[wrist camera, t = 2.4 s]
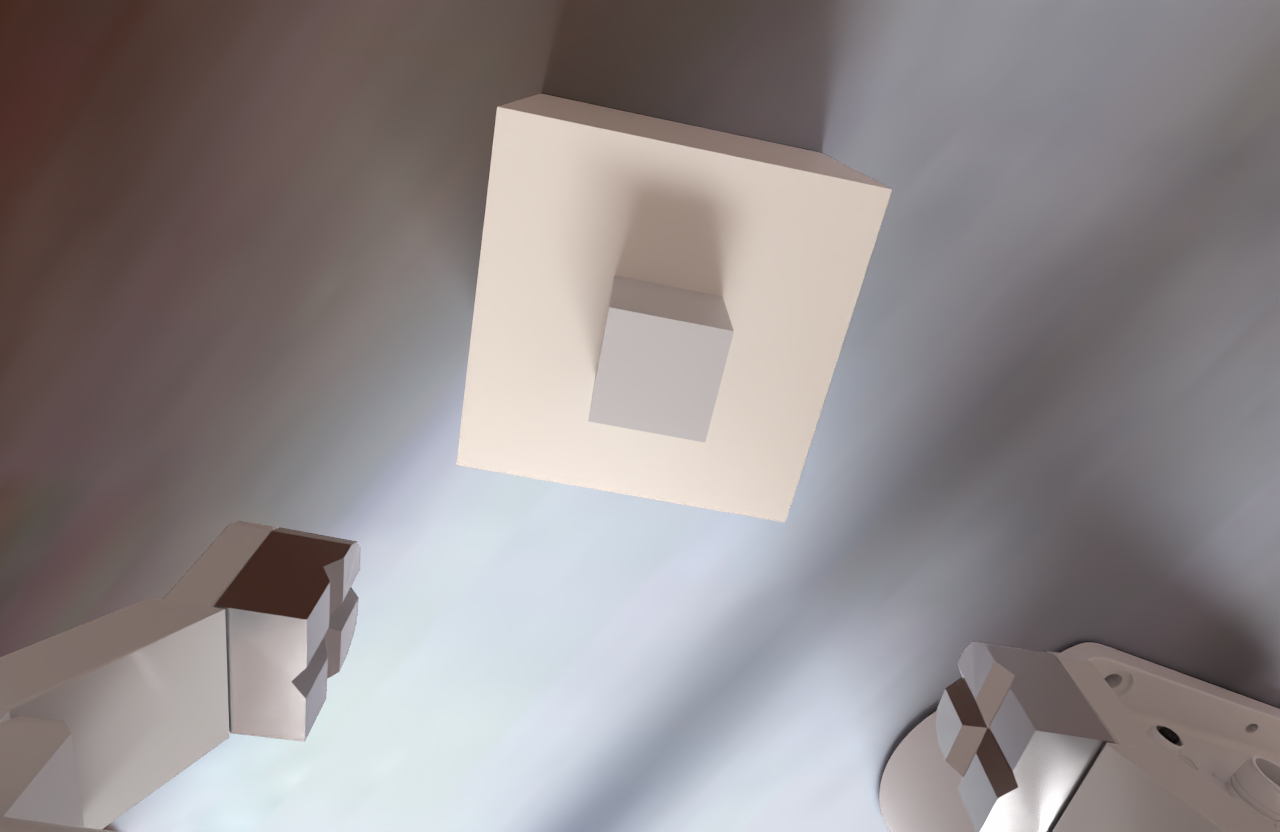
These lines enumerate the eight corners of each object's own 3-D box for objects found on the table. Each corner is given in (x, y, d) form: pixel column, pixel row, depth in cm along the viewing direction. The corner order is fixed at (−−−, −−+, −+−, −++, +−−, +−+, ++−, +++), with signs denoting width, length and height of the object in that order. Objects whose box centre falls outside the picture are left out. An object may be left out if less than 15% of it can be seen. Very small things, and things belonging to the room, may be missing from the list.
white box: (822, 153, 28) (930, 209, 17) (750, 407, 32) (803, 580, 21) (540, 93, 27) (472, 113, 17) (504, 362, 31) (431, 518, 21)
